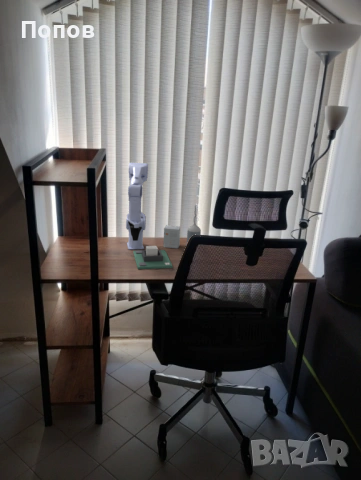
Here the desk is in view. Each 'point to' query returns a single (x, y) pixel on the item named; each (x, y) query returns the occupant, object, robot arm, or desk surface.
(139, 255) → the board
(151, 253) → the plug block
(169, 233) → the small box
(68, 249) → the desk surface
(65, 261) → the desk surface
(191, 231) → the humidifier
